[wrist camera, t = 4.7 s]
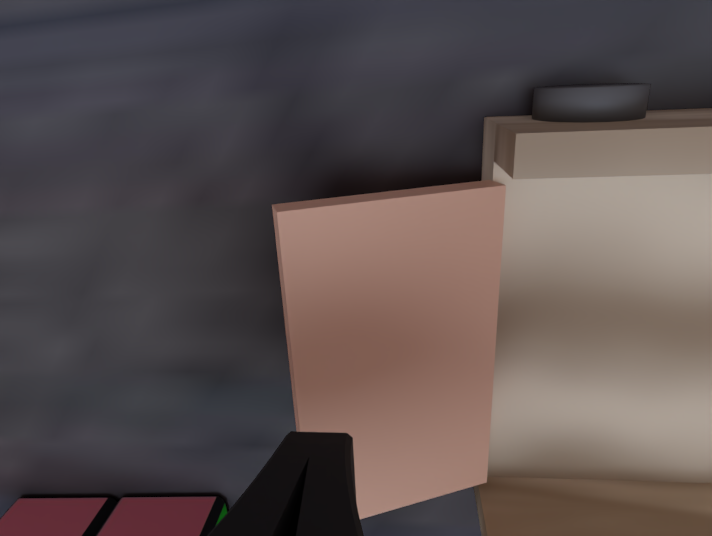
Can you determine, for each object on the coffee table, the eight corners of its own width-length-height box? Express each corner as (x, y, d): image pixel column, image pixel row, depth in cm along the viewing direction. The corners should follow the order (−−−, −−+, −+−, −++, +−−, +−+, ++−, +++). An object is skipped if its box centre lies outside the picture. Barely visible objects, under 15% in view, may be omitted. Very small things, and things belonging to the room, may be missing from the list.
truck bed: (789, 482, 19) (952, 655, 13) (467, 473, 20) (493, 628, 14) (934, 68, 14) (1307, 64, 8) (485, 89, 15) (536, 97, 9)
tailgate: (506, 185, 13) (276, 212, 11) (486, 482, 16) (310, 533, 15) (489, 180, 14) (272, 204, 12) (474, 465, 17) (305, 512, 16)
